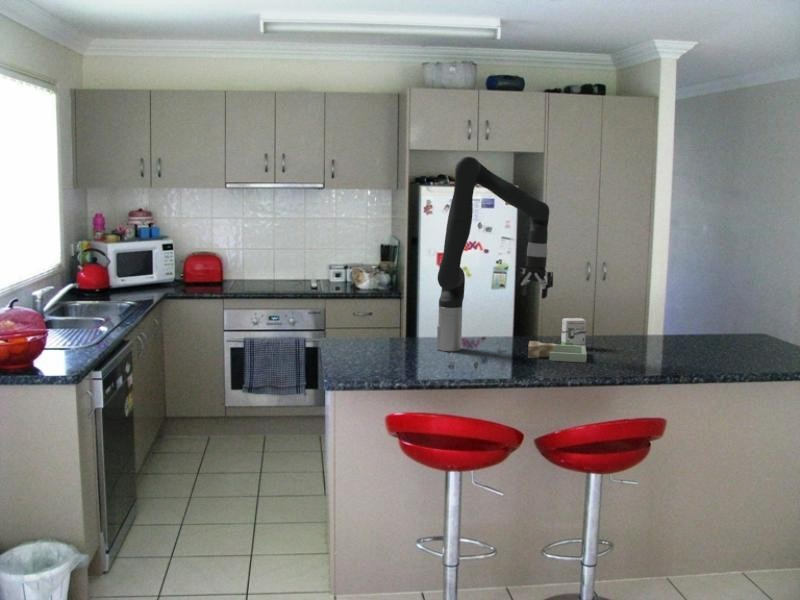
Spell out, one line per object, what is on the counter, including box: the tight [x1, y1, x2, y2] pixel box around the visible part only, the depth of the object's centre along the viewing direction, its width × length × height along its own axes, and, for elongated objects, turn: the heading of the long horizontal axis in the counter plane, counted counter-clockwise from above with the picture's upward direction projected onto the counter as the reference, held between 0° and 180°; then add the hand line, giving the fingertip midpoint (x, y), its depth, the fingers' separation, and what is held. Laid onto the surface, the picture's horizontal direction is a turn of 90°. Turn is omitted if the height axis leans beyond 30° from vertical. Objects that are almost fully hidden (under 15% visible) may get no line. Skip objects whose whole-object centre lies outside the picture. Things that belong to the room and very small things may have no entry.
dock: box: [549, 343, 588, 363], centre depth 326 cm, size 14×16×3 cm
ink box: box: [560, 317, 587, 347], centre depth 342 cm, size 9×5×12 cm, turn 100°
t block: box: [527, 340, 556, 359], centre depth 327 cm, size 10×10×4 cm
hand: (533, 296), depth 326 cm, fingers open, 8 cm apart
